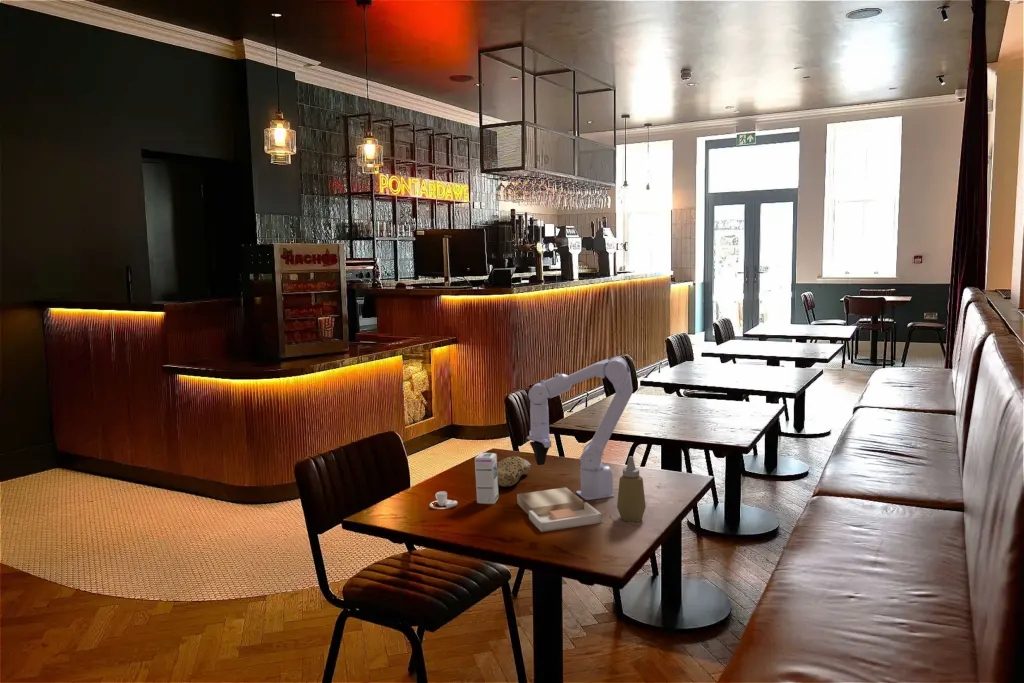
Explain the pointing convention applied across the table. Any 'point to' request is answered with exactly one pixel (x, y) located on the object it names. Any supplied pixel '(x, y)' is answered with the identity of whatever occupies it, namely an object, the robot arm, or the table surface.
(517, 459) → the sponge
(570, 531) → the table surface
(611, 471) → the robot arm
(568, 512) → the tile
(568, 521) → the tray
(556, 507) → the platform
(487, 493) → the syrup box
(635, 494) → the squeeze bottle
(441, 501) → the teacup and saucer
